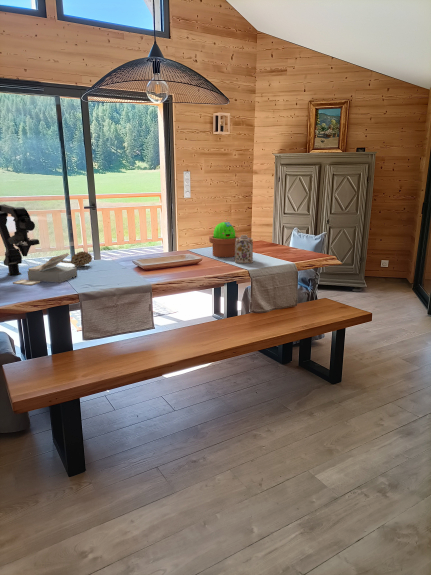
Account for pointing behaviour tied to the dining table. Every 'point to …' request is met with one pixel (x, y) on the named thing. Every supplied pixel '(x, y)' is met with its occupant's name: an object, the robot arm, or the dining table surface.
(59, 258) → the board
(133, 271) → the dining table surface
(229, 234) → the potted cactus
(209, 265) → the dining table surface
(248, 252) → the decorative jar
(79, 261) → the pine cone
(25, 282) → the plank
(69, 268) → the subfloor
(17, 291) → the dining table surface
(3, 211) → the robot arm
